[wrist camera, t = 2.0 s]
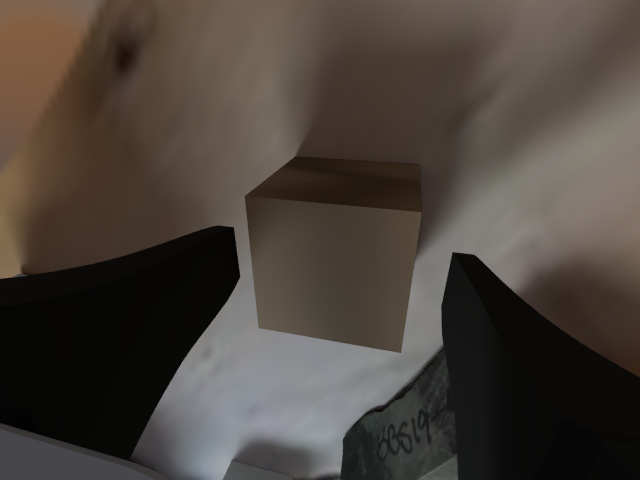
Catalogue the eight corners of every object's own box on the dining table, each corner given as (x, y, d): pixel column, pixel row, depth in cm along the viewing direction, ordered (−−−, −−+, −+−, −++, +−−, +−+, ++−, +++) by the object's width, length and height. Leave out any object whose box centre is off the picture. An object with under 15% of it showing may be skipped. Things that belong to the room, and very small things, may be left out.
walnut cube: (299, 258, 17) (258, 327, 12) (295, 155, 14) (245, 196, 10) (404, 272, 16) (400, 352, 11) (419, 163, 13) (421, 212, 9)
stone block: (332, 443, 23) (312, 536, 19) (463, 300, 16) (481, 395, 11) (450, 506, 23) (458, 614, 18) (636, 391, 16) (724, 524, 11)
